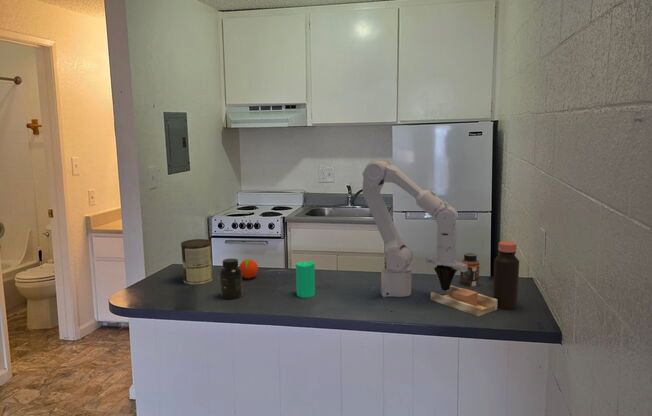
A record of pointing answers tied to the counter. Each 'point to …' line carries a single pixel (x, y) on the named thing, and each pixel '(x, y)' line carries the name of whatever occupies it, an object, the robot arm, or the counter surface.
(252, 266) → the red tomato
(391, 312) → the counter surface
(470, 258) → the supplement bottle
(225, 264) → the supplement bottle
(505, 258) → the vinegar
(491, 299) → the wooden tray
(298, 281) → the candle
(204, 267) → the coffee can
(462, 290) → the block
